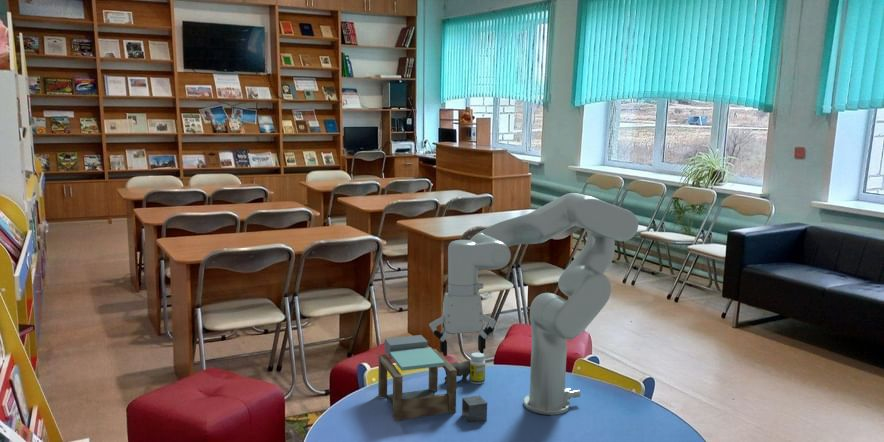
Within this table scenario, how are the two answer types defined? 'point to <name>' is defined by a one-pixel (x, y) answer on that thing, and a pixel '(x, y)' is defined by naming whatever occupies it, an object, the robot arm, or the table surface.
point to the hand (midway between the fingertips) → (462, 353)
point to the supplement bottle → (477, 368)
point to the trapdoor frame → (417, 392)
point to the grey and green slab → (412, 353)
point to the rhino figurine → (461, 370)
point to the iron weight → (474, 409)
